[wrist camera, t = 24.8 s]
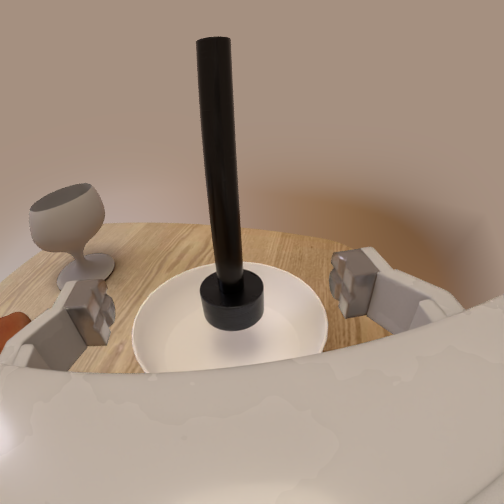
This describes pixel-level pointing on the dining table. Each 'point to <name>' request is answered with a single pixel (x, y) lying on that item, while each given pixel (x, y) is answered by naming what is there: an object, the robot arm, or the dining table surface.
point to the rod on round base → (223, 195)
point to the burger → (11, 326)
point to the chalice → (71, 230)
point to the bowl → (227, 342)
